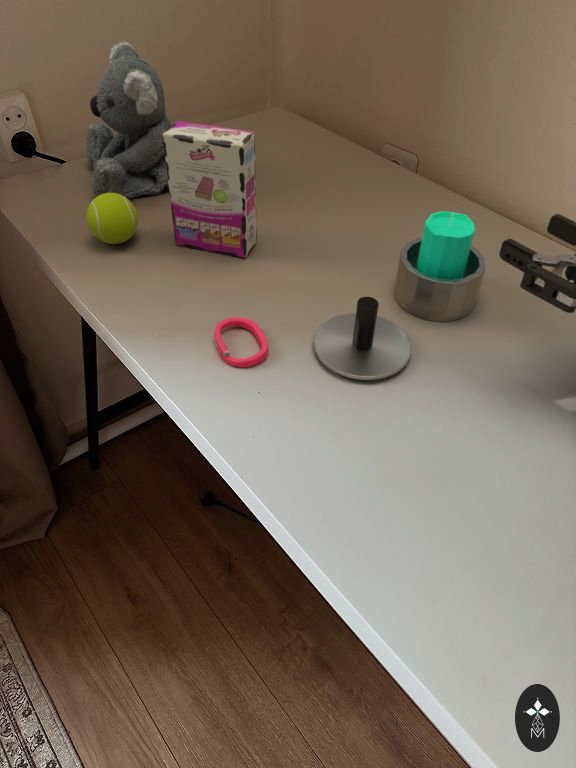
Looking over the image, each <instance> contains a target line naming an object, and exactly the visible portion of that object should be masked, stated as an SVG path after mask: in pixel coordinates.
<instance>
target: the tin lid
mask: <svg viewBox="0 0 576 768" xmlns="http://www.w3.org/2000/svg"><path fill="white" fill-rule="evenodd" d="M379 305H380V304H379V301H378V300H377V299H376V298H374V297H371V296H362V297H360V298H358V300H357V303H356V309H355V310H356V311H355V312H353V313H351V312H350V313H345V314H341V315H340V314H339V315H337V316H334V317H331V318H330V319H328V320H326V321H325V322H323V323H322V324H321V325H320V326H319V328H318V329H317V330H316V332H315V334H314V338H313V349H314V352H315V355H316V357H317V358H318V360H319V361H320V362H321V363H322V364H323V365H324V366H325V367H326V368H327V369H329V370H331V371H332V372H333V373H336V374H338V375H340V376H343V377H346V378H349V379H355V380H361V381H362V380H363V381H373V380H381V379H385V378H388V377H391V376H393V375H395V374H397V373H399V372H400V371H401V370H402V369H403V368H405V367H406V366H407V364H408V362H409V360H410V358H411V354H412V344H411V340H410V338H409V337H408V334H407V333H406V332H405V331H404V330H403V328H401V326H399V325H398V324H396V323H394V322H393V321H391V320H389V319H387V318H384V317H382V316H379V315H378V311H379Z"/></svg>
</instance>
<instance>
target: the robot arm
mask: <svg viewBox="0 0 576 768" xmlns="http://www.w3.org/2000/svg"><path fill="white" fill-rule="evenodd" d="M546 231H547V234H549V235H551V236H553V237H555V238H557V239H558V240H561V241H562V242H565V243H567V244H568V245H571V246H572V247H576V221H574V220H572V219H571V218H568V217H566V216H564V215H562V214H560V213H555V214H554V215H552V216H551V217H550V219H549V222H548V225H547V228H546ZM499 258H500V259H501V260H502V261H503V262H505V263H507V264H509V265H510V266H512V267H514V268H515V269H517V270H518V271H521V272H522V273H523V276H522V279H521V282H520V284H519V287H520V288H521V289H522V290H524V291H526V292H527V293H530V294H531V295H533V296H535V297H537V298H539V299H541V300H543V301H545V302H546V303H548V304H550V305H552V306H554V307H555V308H558V309H559V310H561V311H563V312H565V313H568V314H574V313H575V311H576V253H574V254H567V253H559V254H557V255H556V256H551V255H544V254H538V252H537V251H536V250H535V251H534V250H533V249H531V248H530V247H528V246H526V245H524V244H521V243H520V242H519V241H516V240H514V239H513V238H507V239H504V240H503V241H502V243H501V247H500V249H499ZM545 267H550V268H551V269H552V270H551V271H550V270H549V269H546V268H545ZM564 269H565V271H564ZM563 272H564V276H565V278H564V277H563V276H562V275H563ZM536 282H537V283H536ZM538 283H542V284H543V286H541V285H540V284H538Z"/></svg>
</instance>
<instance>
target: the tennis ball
mask: <svg viewBox="0 0 576 768" xmlns="http://www.w3.org/2000/svg"><path fill="white" fill-rule="evenodd" d="M138 218H139V217H138V213H137V210H136V207H135V205H134V204H133V203H132V201H130V199H127V198H126V197H124V196H122V195H120V194H117V193H104V194H101V195H99V196H97V197H96V198H95V197H94V198H93V199H92V200H91V202H89V205H88V207H87V209H86V224H87V226H88V229H89V230H90V232H91V233H92V235H93V236H94V237H95V238H96V239H97V240H99V241H100V242H102V243H106V244H110V245H117V244H122V243H125V242H126V241H128V240H130V239H131V237H132V236H133V235H134V234H135V233H136V231H137V227H138V223H139V222H138V221H139V219H138Z"/></svg>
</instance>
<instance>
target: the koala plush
mask: <svg viewBox="0 0 576 768" xmlns="http://www.w3.org/2000/svg"><path fill="white" fill-rule="evenodd" d="M109 62H110V64H109V66H108V67H107V69H106V70H105V72H104V74H103V76H102V77H101V79H100V81H99V83H98V86H97V91H96V94H95V95H94V96H92V97H91V98H90V102H89V107H90V111H91V113H92V114H93V116H95V117H97V118H100V119H101V120H102V121H103V122H104V123H105V124H104V123H101V122H99V123H98V124H97V123H91V124H90V125H89V126H87V128H88V129H87V132H86V137H85V140H86V142H85V155H86V159H87V160H86V161H87V162H88V163H89V165H90V166H93V169H94V170H93V174H92V180H91V190H92V194H93V195H94V199H95V198H96V197H97V196H99V195H101V194H104V193H117V194H120V195H122V196H124V197H126V198H127V199H128V200H130V199H131V200H132V199H133V198H137V197H141V196H150V195H154V196H156V195H157V194H158V195H159V194H160V193H162V192H163V191H164V189H165V187H166V188H167V187H168V188H169V184H168V176H167V168H166V160H165V152H164V143H163V133H165V132H166V131H167V130H168V129H169V128H170V127H171V126H172V125H173V124H174V123H173V122H171V121H170V119H169V117H168V116H167V115H166V103H165V102H166V101H165V99H166V98H165V92H164V88H163V84H162V80H161V78H160V76H159V74H158V72H157V70H156V69H155V68H154V67H153V66H152V65H151V64H150V63H149V62H147V61H146V60H144V59H142V57H141V56H140V54H139V53H138V51H137V50H136V49H135V48H134V46H133V45H131V44H130V43H129V42H127V41H125V40H123V39H122V40H119V41H118V43H115V44H114V45H113V47H110V52H109ZM111 129H112V130H113V131H114V132H117V133H116V134H115V135H114V133H113V131H112V130H111Z"/></svg>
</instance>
